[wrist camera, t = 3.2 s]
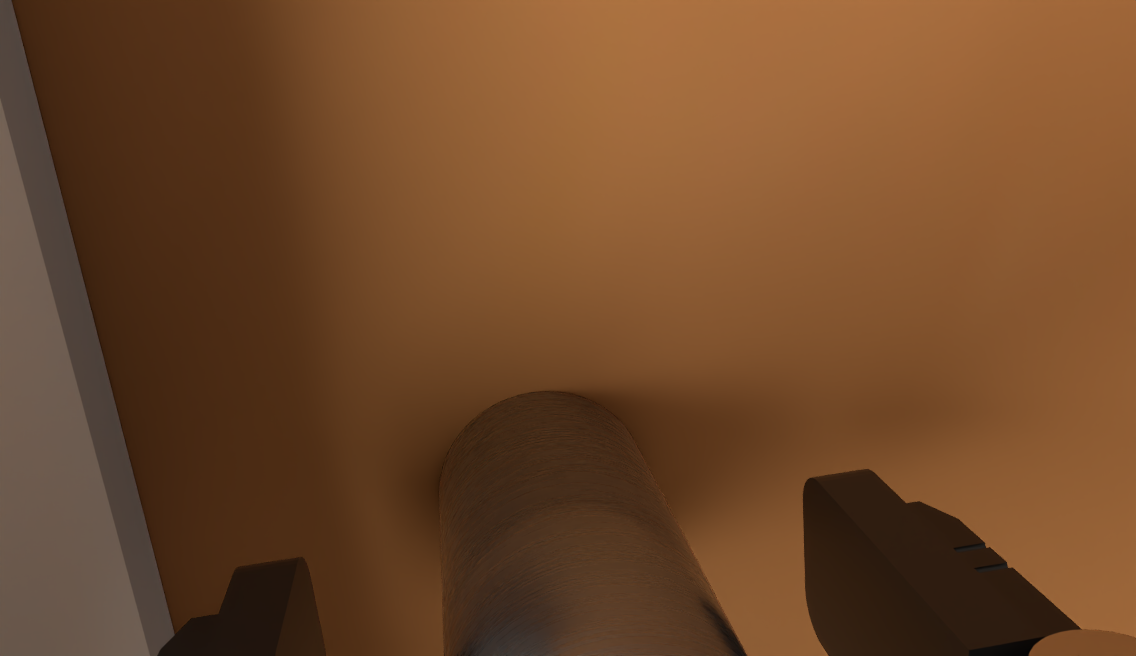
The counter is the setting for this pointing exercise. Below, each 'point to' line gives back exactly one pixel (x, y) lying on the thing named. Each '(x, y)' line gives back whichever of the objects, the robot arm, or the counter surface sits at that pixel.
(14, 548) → the bore block
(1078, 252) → the counter surface
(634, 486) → the pin
